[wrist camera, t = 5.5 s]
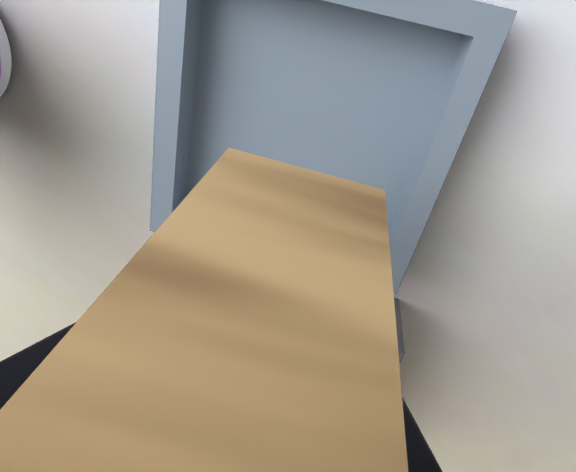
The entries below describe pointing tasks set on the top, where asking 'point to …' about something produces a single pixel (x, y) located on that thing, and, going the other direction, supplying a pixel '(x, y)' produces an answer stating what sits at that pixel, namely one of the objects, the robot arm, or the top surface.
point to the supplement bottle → (4, 60)
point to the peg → (231, 340)
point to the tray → (323, 94)
